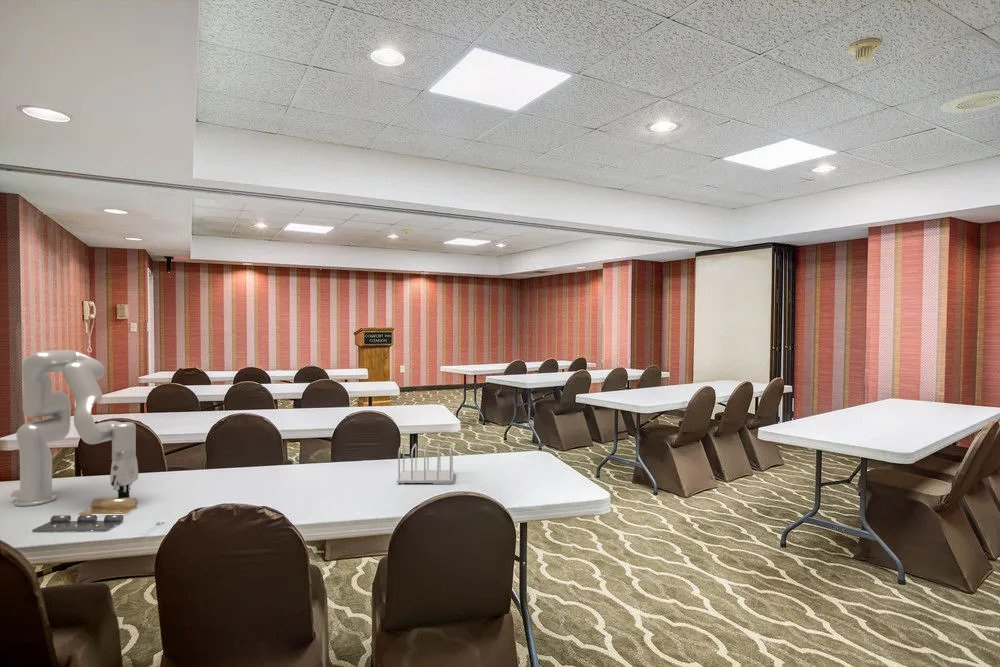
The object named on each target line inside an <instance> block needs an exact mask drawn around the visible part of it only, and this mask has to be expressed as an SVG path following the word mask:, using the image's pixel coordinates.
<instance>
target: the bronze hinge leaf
mask: <svg viewBox="0 0 1000 667" xmlns="http://www.w3.org/2000/svg"><path fill="white" fill-rule="evenodd" d="M137 505H138V499H137V497H129V498H118V497H95V498H94V499H93V500H92V502H91V506H90V507H89V508H87V509H85V510H82V511H80V512H78V516H79V515H92V514H126V513H128V512H130V511H131V510H133V509H135V508H136V509H137ZM130 513H131V512H130ZM128 514H129V513H128ZM126 515H127V514H126Z"/></svg>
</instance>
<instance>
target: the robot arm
mask: <svg viewBox="0 0 1000 667" xmlns="http://www.w3.org/2000/svg"><path fill="white" fill-rule="evenodd" d="M55 372H57V373H58V372H62V373H63V374H62V375H63V378H64V379H65V382H66V384H67V386H68V387H69V389H70V391H71V394H72V396H73V398H74V400H75V402H76V405H75V408H74V412H73V426H74V428H75V430H76V432H77V434H78V436H79V437H80V439H81V440H82V441H83V442H84V443H86V444H87V445H96V444H97V445H98V444H102V443H105V442H110V441H111V460H112V461H111V465H110V466H111V467H110V486H111V487H112V489H113V491H116V493H117V494H118V495H117V498H130V491H131V486H132V485H133V484H134V483H135V482H136V481H137V480H138V479H139V465H138V459H137V455H136V454H137V452H136V451H137V449H136V447H137V446H136V445H137V443H136V440H137V433H136V432H137V430H136V429H137V428H136V427H137V426H136V423H134V422H130V421H123V422H122V421H117V420H108V421H101V422H98V423H95V420H94V418H93V416H92V414H93V413H92V409H93V407H94V405H95V403H96V402H98V401H99V400H100V399H102V398H103V392H102V390H101V387H100V385H99V384H98V382H97V381H98V380H100V379H102V378H104V376H105V373H106V369H105V366H104V364H103V363H102V362H101V361H99V360H98V359H96V358H93V357H91V356H89V355H86V354H84V353H81V352H79V351H77V350H74V349H73V350H71V349H61V350H60V349H58V350H57V349H56V350H54V349H53V350H41V351H37V352H33V353H31V354H29V355H27V356H25V358H24V360H23V361H22V364H21V374H22V381H23V382H22V383H23V387H22V412H23V414H24V416H26V417H27V418H31V419H32V418H33V419H34V418H35V419H36V418H44V417H46V418H44V419H38V420H33V421H29V422H26V423H24V424H22V425H20V426H19V428H18V429H17V431H16V434H15V435H16V440H17V446H18V451H19V490H17V489H16V490H13V491H12V493H11V494H10V497H11V498H14V497H15V498H16V499H15V501H14V505H15V506H18V507H29V506H30V507H31V506H38V505H43V504H47V503H50V502H53V501H55V500H56V499H57V498H58V495H57V494H56V493H53V454H52V450H51V448H50V447H49V445H48V443H52V442H57V441H60V440H63V439H65V438H66V437H67V436H68V435H69V433H70V430H71V417H72V415H71V414H72V413H71V411H72V402H71V399H70V397H69V396H68V394H66V392H64V391H61V390H53V382H52V379H51V377H50V375H49V374H48V373H55Z"/></svg>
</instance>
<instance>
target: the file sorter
mask: <svg viewBox="0 0 1000 667" xmlns="http://www.w3.org/2000/svg"><path fill="white" fill-rule="evenodd" d="M417 447H418V445H417V443H414V445H413V446H412V448H411V452H410V453H411V454H410V455H411V456H410V465H411V470H405V444H404V443H401V445H400V446H399V447H398V454H397V457H398V459H397V460H398V461H397V462H398V464H397V465H398V467H397V468H398V475H397V476H398V478H397V479H396V484H397V483H433V484H432V485H439V484H440V485H452V484H454V476H455V470H454V469H453V464H454V463H453V462H454V461H453V458H454V457H453V450H454V449H453V443H451V444H450V448H449V470H441V443H438V446H437V469H436V470H429V464H430V463H429V442H428V443H426V445H425V448H424V451H423V452H424V453H423V470H417V469H418V468H417V464H418V462H417V459H418V458H417V456H418V455H417V454H418V453H417V452H418V451H417V449H418V448H417ZM401 449H402V465H403V466H402V471H401V472H400V470H401V462H400V460H401V456H400V455H401ZM414 449H415V452H413V451H414ZM426 452H427V453H426ZM426 454H427V455H426ZM413 455H415V456H414V457H413ZM426 457H427V458H426ZM413 458H415V461H414V459H413ZM426 460H427V462H426ZM413 462H415V463H414V465H415V468H414V469H413V467H414V466H413ZM426 463H427V465H426ZM426 467H427V468H426Z"/></svg>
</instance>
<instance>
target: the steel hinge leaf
mask: <svg viewBox="0 0 1000 667" xmlns="http://www.w3.org/2000/svg"><path fill="white" fill-rule="evenodd" d="M103 518H104V519H103V520H98V516H96V515H80V516H79V515H78V517H77V519H76V520H72V516H71V515H70V514H69V515H68V514H66V515H62V514H61V515H57V514H56V515H52V516H51V517H50V521H48V522H46V523H44V524H42V525H40V526H37V527H35V528H33V529H32V530H31V531H32V533H55V532H54V531H91V530H93V531H107V530H108V529H110V528H112V527H114V526H115V525H117V524H119V523H121V522H122V523H123V521H124V516H123V515H106V516H104V517H103ZM122 523H121V524H122ZM119 525H120V524H119ZM117 526H118V525H117ZM114 528H115V527H114ZM112 529H113V528H112ZM110 530H111V529H110ZM108 531H109V530H108ZM108 531H107V532H108Z"/></svg>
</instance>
